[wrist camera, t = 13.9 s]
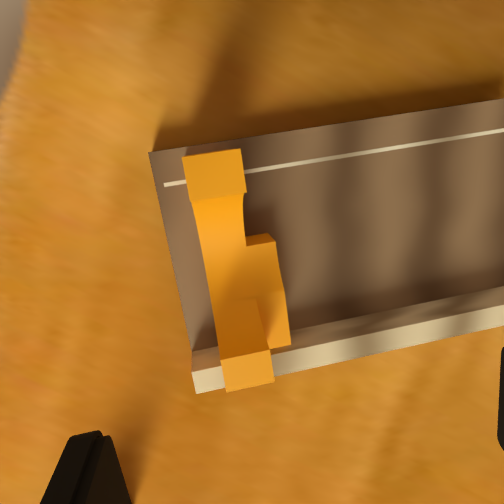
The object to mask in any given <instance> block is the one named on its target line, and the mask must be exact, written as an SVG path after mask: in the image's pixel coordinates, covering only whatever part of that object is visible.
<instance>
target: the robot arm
mask: <svg viewBox="0 0 504 504" xmlns="http://www.w3.org/2000/svg"><path fill="white" fill-rule="evenodd" d="M497 437H498V441H499V444H500V446H501V447H502V449H503V450H504V347H503V348H502V351H501V367H500V388H499V409H498V430H497ZM40 504H132V503H131V500H130V497H129V494H128V490H127V487H126V484H125V481H124V477H123V474H122V471H121V467H120V464H119V461H118V458H117V454H116V451H115V448H114V445H113V441H112V439H111V437H110V436H109V435H107V436H103V435H102V433H101V432H100V431H99V430H97V431H92V432H88V433H83V434H79V435H74V436H72V437H70V438H69V440H68V441H67V444H66V446H65V448H64V450H63V453H62V455H61V457H60V459H59V462H58V464H57V466H56V469H55V471H54V473H53V475H52V478H51V480H50V482H49V484H48V487H47V489H46V491H45V493H44V496H43V498H42V500H41V502H40Z"/></svg>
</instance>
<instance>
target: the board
mask: <svg viewBox="0 0 504 504" xmlns="http://www.w3.org/2000/svg"><path fill="white" fill-rule="evenodd" d="M239 148H240V149H241V155H242V162H243V169H244V176H245V183H246V190H247V193H244V196H243V221H244V231H245V237H247V236H252V235H258V234H264V233H268V234H269V235H270V236H271V237H272V238H273V239H274V240H275V241H276V249H277V256H278V262H279V268H280V273H281V278H282V283H283V287H284V291H285V299H286V306H287V314H288V322H289V330H290V338H291V345H288V346H283V347H278V348H273V349H270V353H271V360H272V367H273V374H274V377H275V376H279V375H284V374H288V373H292V372H297V371H301V370H306V369H310V368H315V367H319V366H324V365H328V364H333V363H337V362H342V361H346V360H351V359H355V358H360V357H364V356H369V355H373V354H378V353H382V352H387V351H391V350H396V349H400V348H405V347H409V346H414V345H418V344H423V343H427V342H432V341H436V340H440V339H445V338H449V337H454V336H458V335H463V334H467V333H472V332H476V331H481V330H485V329H490V328H494V327H499V326H503V325H504V99H497V100H490V101H484V102H477V103H471V104H464V105H457V106H451V107H444V108H438V109H431V110H425V111H418V112H411V113H405V114H398V115H392V116H385V117H378V118H372V119H365V120H359V121H352V122H345V123H339V124H332V125H326V126H319V127H313V128H306V129H299V130H293V131H286V132H280V133H273V134H266V135H260V136H253V137H247V138H240V139H234V140H227V141H220V142H214V143H207V144H201V145H194V146H187V147H181V148H174V149H168V150H161V151H154V152H148V154H149V158H150V163H151V167H152V172H153V177H154V181H155V186H156V190H157V195H158V199H159V204H160V209H161V213H162V218H163V222H164V227H165V231H166V236H167V241H168V245H169V250H170V254H171V259H172V263H173V268H174V273H175V277H176V282H177V286H178V291H179V295H180V300H181V305H182V309H183V314H184V318H185V323H186V327H187V332H188V337H189V341H190V346H191V350H192V376H193V381H194V385H195V390H196V394H198V393H203V392H207V391H212V390H216V389H221V388H225V382H224V377H223V372H222V366H221V361H220V354H219V347H218V341H217V334H216V328H215V322H214V316H213V310H212V304H211V298H210V293H209V287H208V281H207V276H206V270H205V265H204V260H203V255H202V249H201V244H200V239H199V234H198V230H197V225H196V220H195V216H194V211H193V207H192V204H191V202H190V199H189V194H188V188H187V183H186V178H185V173H184V167H183V162H182V157H183V156H187V155H194V154H201V153H207V152H214V151H221V150H227V149H239Z"/></svg>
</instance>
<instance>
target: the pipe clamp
mask: <svg viewBox="0 0 504 504" xmlns="http://www.w3.org/2000/svg"><path fill="white" fill-rule="evenodd" d="M182 162H183V167H184V173H185V178H186V183H187V188H188V194H189V199H190V202H191V204H192V207H193V211H194V216H195V220H196V225H197V230H198V234H199V239H200V244H201V249H202V255H203V260H204V265H205V270H206V276H207V281H208V287H209V293H210V298H211V304H212V310H213V316H214V322H215V328H216V334H217V341H218V347H219V354H220V361H221V366H222V372H223V377H224V382H225V387H226V392H231V391H236V390H240V389H245V388H249V387H254V386H258V385H263V384H267V383H272V382H275V381H274V374H273V367H272V360H271V353H270V349H273V348H278V347H283V346H288V345H291V338H290V330H289V322H288V314H287V306H286V299H285V291H284V287H283V283H282V278H281V273H280V268H279V262H278V256H277V249H276V241H275V240H274V239H273V238H272V237H271V236H270V235H269V234H268V233H264V234H258V235H252V236H247V237H245V231H244V221H243V196H244V193H247V190H246V183H245V176H244V169H243V162H242V155H241V149H240V148H239V149H227V150H221V151H214V152H207V153H201V154H194V155H187V156H183V157H182Z"/></svg>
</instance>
